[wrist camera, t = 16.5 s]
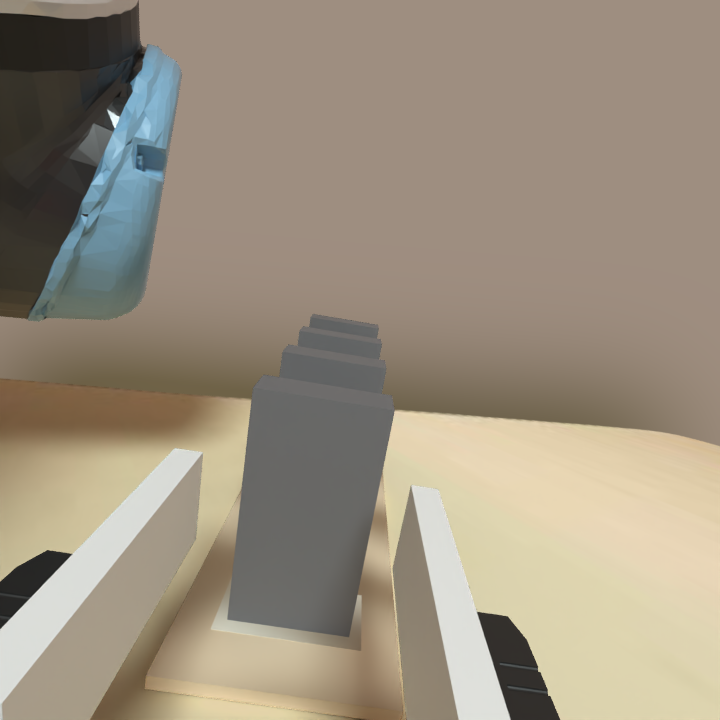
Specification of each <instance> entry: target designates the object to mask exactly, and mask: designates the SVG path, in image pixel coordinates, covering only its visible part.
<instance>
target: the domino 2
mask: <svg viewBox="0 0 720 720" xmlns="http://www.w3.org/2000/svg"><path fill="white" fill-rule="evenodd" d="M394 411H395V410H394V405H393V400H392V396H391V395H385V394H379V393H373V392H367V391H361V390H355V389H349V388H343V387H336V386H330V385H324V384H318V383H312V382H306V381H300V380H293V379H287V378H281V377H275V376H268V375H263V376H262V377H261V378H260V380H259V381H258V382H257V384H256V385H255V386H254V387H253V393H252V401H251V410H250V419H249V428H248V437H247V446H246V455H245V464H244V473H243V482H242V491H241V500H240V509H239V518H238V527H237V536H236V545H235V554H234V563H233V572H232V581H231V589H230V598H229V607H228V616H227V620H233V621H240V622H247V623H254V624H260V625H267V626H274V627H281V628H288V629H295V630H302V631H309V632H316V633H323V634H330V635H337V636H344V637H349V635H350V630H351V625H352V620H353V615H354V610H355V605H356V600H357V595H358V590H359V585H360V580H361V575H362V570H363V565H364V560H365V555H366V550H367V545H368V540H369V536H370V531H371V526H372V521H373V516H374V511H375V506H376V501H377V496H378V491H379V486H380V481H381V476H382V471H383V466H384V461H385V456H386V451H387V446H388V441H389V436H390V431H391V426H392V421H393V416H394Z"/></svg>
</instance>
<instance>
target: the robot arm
mask: <svg viewBox="0 0 720 720" xmlns="http://www.w3.org/2000/svg"><path fill="white" fill-rule="evenodd" d="M181 77H182V73H181V69H180V67H179V65H178V64H177V62H176V61H175V60H173V59H172V58H170V57H169V56H167V55H165V54H164V53H163V52H162V50H161V49H160V48H159V47H158V46H154V45H150V44H148V45H147V47H143V46H142V45H141V41H140V31H139V1H138V0H0V316H4V317H14V318H25V319H28V320H29V321H41V320H44V319H45V318H62V319H91V320H109V319H113V318H117V317H119V316H122V315H124V314H127V313H129V312H130V311H132V310H133V309H134V308H135V307H136V306H138V304H139V303H140V302H141V300H142V298H143V297H144V294H145V290H146V284H147V279H148V273H149V267H150V260H151V255H152V249H153V243H154V238H155V231H156V225H157V220H158V213H159V208H160V202H161V196H162V190H163V184H164V178H165V172H166V166H167V161H168V155H169V149H170V143H171V137H172V131H173V125H174V119H175V113H176V107H177V101H178V95H179V90H180V84H181ZM202 460H203V452H197V451H191V450H185V449H178V448H174V450H173V451H172V452H171V453H170V454H169V455H168V456H167V457H166V458H165V459H164V460H163V461H162V462H161V463H160V464H159V465H158V466H157V467H156V468H155V469H154V470H153V471H152V472H151V473H150V474H149V475H148V477H147V478H146V479H145V480H144V481H143V482H142V483H141V484H140V485H139V486H138V487H137V488H136V489H135V490H134V491H133V492H132V493H131V494H130V495H129V496H128V497H127V498H126V499H125V500H124V501H123V502H122V503H121V505H120V506H119V507H118V508H117V509H116V510H115V511H114V512H113V513H112V514H111V515H110V516H109V517H108V518H107V519H106V520H105V521H104V522H103V523H102V524H101V525H100V526H99V527H98V528H97V529H96V530H95V532H94V533H93V534H92V535H91V536H90V537H89V538H88V539H87V540H86V541H85V542H84V543H83V544H82V545H81V546H80V547H79V548H78V549H77V550H76V551H75V552H74V553H73V554H69V553H62V552H56V551H49V550H47V551H45V552H43V553H42V554H40V555H38V556H36V557H34V558H32V559H31V560H29V561H27V562H25V563H23V564H22V565H20V566H18V567H16V568H15V569H14V570H13V571H12V572H11V573H10V574H8V575H7V576H6V577H5V578H4V579H3V580H2V581H1V582H0V720H90V719H91V717H92V715H93V714H94V712H95V710H96V709H97V707H98V705H99V703H100V702H101V700H102V698H103V697H104V695H105V693H106V691H107V690H108V688H109V686H110V685H111V683H112V681H113V680H114V678H115V676H116V674H117V673H118V671H119V669H120V668H121V666H122V664H123V662H124V661H125V659H126V657H127V656H128V654H129V652H130V650H131V649H132V647H133V645H134V644H135V642H136V640H137V639H138V637H139V635H140V633H141V632H142V630H143V628H144V627H145V625H146V623H147V621H148V620H149V618H150V616H151V615H152V613H153V611H154V610H155V608H156V606H157V604H158V603H159V601H160V599H161V598H162V596H163V594H164V592H165V591H166V589H167V587H168V586H169V584H170V582H171V580H172V579H173V577H174V575H175V574H176V572H177V570H178V569H179V567H180V565H181V563H182V562H183V560H184V558H185V557H186V555H187V553H188V551H189V550H190V548H191V546H192V545H193V543H194V541H195V540H196V531H197V519H198V507H199V496H200V484H201V472H202ZM393 578H394V589H395V600H396V611H397V622H398V633H399V644H400V655H401V666H402V677H403V688H404V699H405V710H406V720H560V718H559V716H558V713H557V711H556V709H555V706H554V704H553V701H552V699H551V697H550V696H548V692H547V691H548V690H547V687H546V685H545V682H544V680H543V678H542V675H541V673H540V672H538V666H537V663H536V661H535V659H534V656H533V654H532V651H531V649H530V647H529V644H528V642H527V640H526V639H525V637H524V636H523V635H522V634H521V632H520V631H519V630H518V629H517V627H516V626H515V625H514V624H513V622H512V621H511V620H510V619H509V617H508V616H502V615H495V614H488V613H481V612H477V611H476V608H475V605H474V602H473V598H472V595H471V592H470V589H469V586H468V582H467V579H466V576H465V573H464V570H463V566H462V563H461V560H460V557H459V554H458V550H457V547H456V544H455V541H454V538H453V535H452V531H451V528H450V525H449V522H448V519H447V515H446V512H445V509H444V506H443V503H442V499H441V496H440V493H439V490H438V489H434V488H427V487H421V486H414V485H411V488H410V492H409V497H408V501H407V506H406V510H405V515H404V519H403V524H402V528H401V533H400V538H399V542H398V547H397V551H396V556H395V560H394V565H393Z"/></svg>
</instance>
